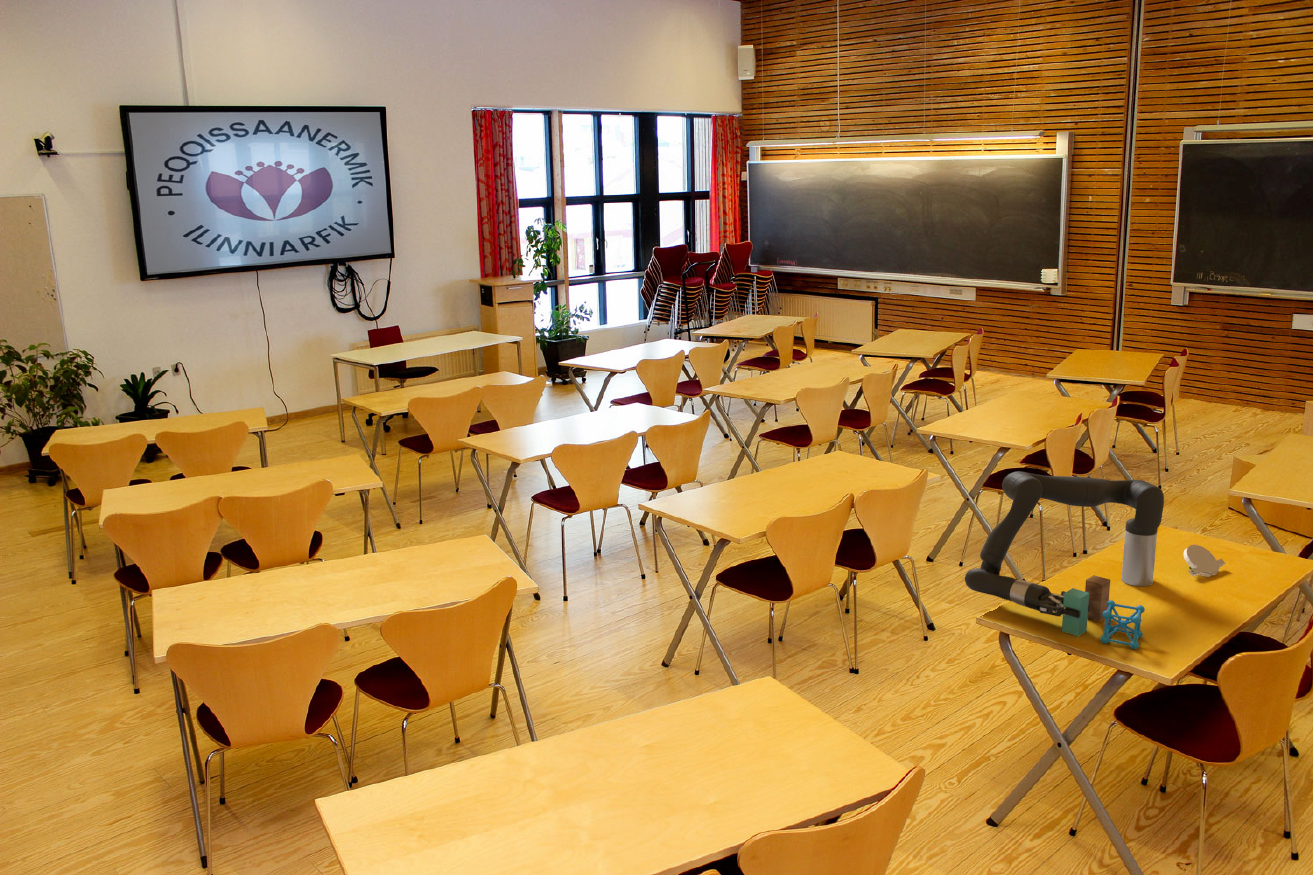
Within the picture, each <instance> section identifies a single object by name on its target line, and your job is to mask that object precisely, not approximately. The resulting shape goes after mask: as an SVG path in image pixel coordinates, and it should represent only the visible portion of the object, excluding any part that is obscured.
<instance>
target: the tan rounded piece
mask: <svg viewBox="0 0 1313 875" xmlns="http://www.w3.org/2000/svg"><path fill="white" fill-rule="evenodd" d="M1183 558H1184V561H1185V562H1186V564H1187V565H1188V569H1189V570H1188V573H1189V574H1190V575H1191V576H1192V577H1195V576H1198V575H1199V576H1202V577H1206V578H1210V577H1211V576H1216V575H1217V574H1218V573H1219V571H1220V568H1221V567H1224V566H1225V564H1226V562H1225V560H1223V558H1219V559H1216V557H1215V556H1214V554H1213V553H1212V552H1211V551H1210V550H1208V549H1207V548H1205V547H1204V546H1201V545H1199V544H1191V545H1189V546H1188V547H1186V548H1185V549H1184V551H1183Z"/></svg>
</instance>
